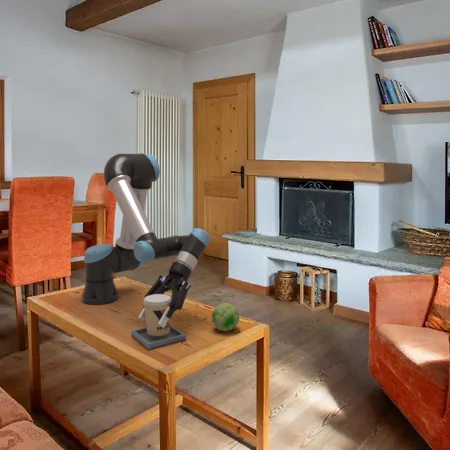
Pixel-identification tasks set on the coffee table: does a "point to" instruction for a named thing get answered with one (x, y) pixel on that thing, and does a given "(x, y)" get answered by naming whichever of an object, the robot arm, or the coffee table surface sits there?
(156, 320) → the coffee cup
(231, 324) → the decorative ball
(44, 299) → the coffee table surface
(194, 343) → the coffee table surface
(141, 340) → the tray
